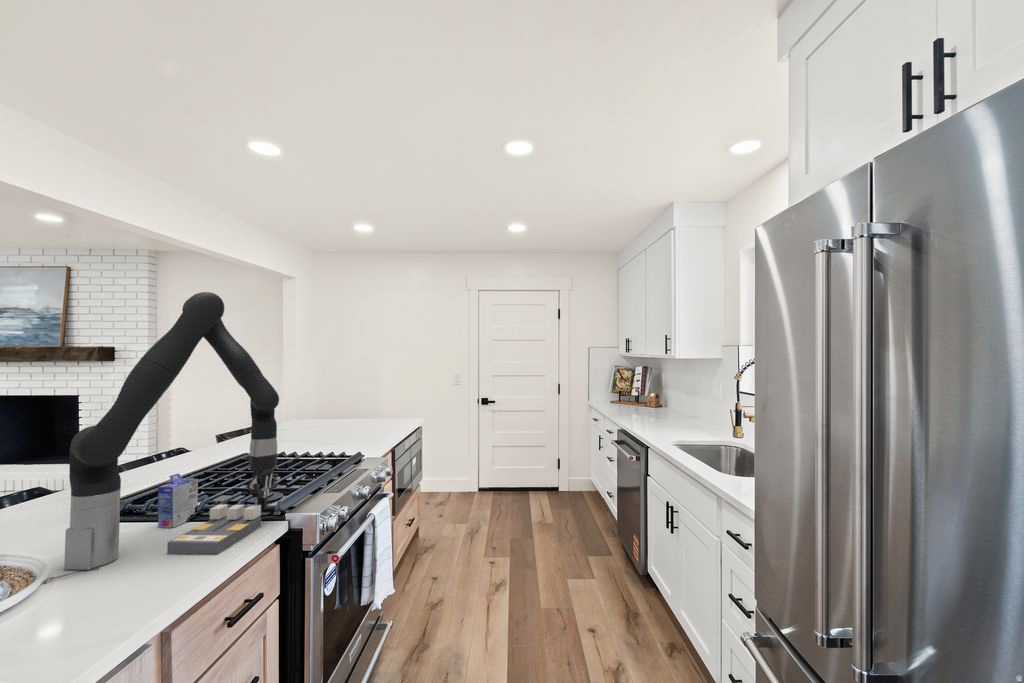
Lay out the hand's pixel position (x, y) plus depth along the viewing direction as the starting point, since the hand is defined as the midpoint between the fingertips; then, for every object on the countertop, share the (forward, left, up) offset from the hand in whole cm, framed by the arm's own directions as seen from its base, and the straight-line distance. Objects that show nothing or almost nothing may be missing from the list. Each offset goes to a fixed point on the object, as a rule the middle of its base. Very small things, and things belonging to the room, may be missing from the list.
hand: (262, 509), depth 143 cm
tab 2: (-5, 0, 0) cm, 6 cm away
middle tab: (-5, +5, -1) cm, 7 cm away
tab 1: (-5, +10, -1) cm, 11 cm away
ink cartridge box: (0, +26, -4) cm, 26 cm away
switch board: (-13, +5, -4) cm, 15 cm away
